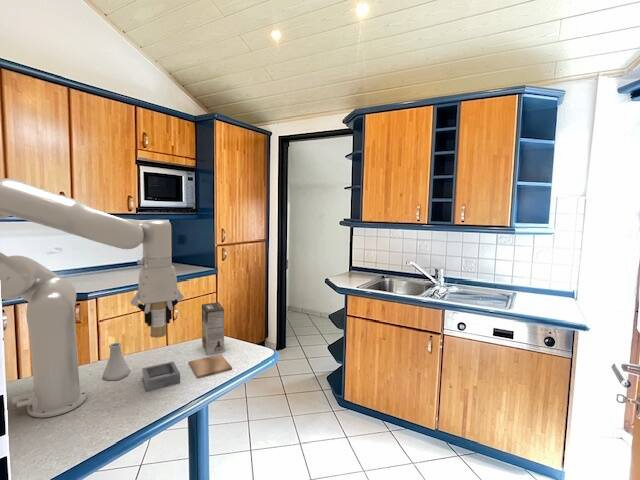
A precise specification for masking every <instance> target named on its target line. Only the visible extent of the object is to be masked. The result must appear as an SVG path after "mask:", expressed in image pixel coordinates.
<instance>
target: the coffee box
mask: <svg viewBox="0 0 640 480" xmlns="http://www.w3.org/2000/svg"><path fill="white" fill-rule="evenodd" d="M201 343H202V344H201V345H202V348H203V349H204V352H205V354H206V355H207V356H208V355H209V356H210V355H214V354H215V355H216V354H220V353H223V352H225V308H224V307H223V305H221V303H220V302H219V301H217V302H210V303H203V304H201Z"/></svg>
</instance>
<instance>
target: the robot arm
mask: <svg viewBox="0 0 640 480" xmlns="http://www.w3.org/2000/svg"><path fill="white" fill-rule="evenodd" d="M9 217H13V218H16V219H20V220H24V221H28V222H30V223H35V224H39V225H42V226H44V227H49V228H52V229H55V230H58V231H61V232H64V233H67V234H70V235H74V236H77V237H81V238H83V239H87V240H90V241H92V242H96V243H99V244H103V245H107V246H110V247H114V248H117V249H121V250H133V249H135V248H137V247H139V246H140V245H141V244H142V258H141V259H136V260H137V262H136V263H137V265H141V266H142V267H140V270H139V274H138V275H139V276H138V287H137V290H138V291H137V292H136V293H135V295H134V296H133V297H132V298H131V300H130V305H132V306H134V307H136V308H138V309H139V310H141V311H142V312H144V313H143V314H144V323H145V324H146V325H147V327H150V326H151V313H150V305H151V304H152V303H160V302H166V324H171V323H170V322H171V320H172V317H173V316H172V313H173V311H172V310H173V309H174V308H175V306H177V305H178V303H179V302H181V301H182V300H183V299H184V298H185V297H184V295H183V293H182V292H181V291H180V290H179V289H178V278H177V274H176V267H175V266H174V265H172V264H173V263H172V250H173V249H172V224H171V222H170V221H168V220H166V219H148V220H141V219H133V218H123V217H122V218H121V217H118V216H115V215H111V214H110V213H109V214H108V213H106V212H103V211H101V210H98V209H95V208H93V207H90V206H88V205H86V204H85V203H83V202H81V201H79V200H77V199H75V198H72V197H69V196H67V195H66V196H65V195H62V194H59V193H56V192H55V191H54V192H53V191H51V190H47V189H45V188H41V187H38V186H35V185H33V184H29V183H28V182H26V181H23V180H21V179H16V178H0V220H3V219H6V218H9ZM0 280H1V298H2V299H1V300H4V301H5V300H6V301H10V300H15V299H18V298H21V299H22V300H25V301H26V302H27V306H26V309H25V314H26V315H25V316H26V323H27V328H28V334H29V345H30V353H31V367H32V381H33V391H32V392H31V391H30V392H28V394H24V395H17V396H12V398H11V405H12V406H16V408H17V409H19V408H23V407H25V406H27V408H26V409H27V414H28V415H29V414H30V415H29V416H31V417H33V418H51V417H55V416H59V415H64V414H66V413H68V412H71V411H72V410H74V409H77V408H78V407H80V406H81V405H82V404H83V403H84V402H85V401H86V399H87V397H88V393H87V390H86V389H85V388H83V387H80V376H79V375H80V373H79V370H80V369H79V356H78V353H79V352H78V341H77V329H76V327H77V325H76V315H75V313H76V311H75V310H76V309H75V307H76V301H77V291H76V289H75V287H74V285H73V284H72V283H70V282H69V281H67V280H66V279H64V277H62V276H60V275H58V274H57V273H55V271H54V272H53V271H52V270H50V269H49V268H47V267H46V266H44V265H42V264H41V263H40V262H38V261H36V260H34V259H32V258H30V257H28V256H24V255H9V256H8V255H5V254H4V253H2V252H1V251H0Z"/></svg>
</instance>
